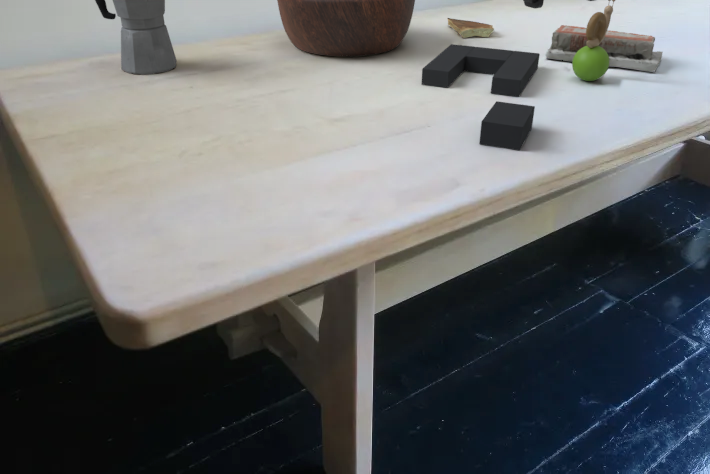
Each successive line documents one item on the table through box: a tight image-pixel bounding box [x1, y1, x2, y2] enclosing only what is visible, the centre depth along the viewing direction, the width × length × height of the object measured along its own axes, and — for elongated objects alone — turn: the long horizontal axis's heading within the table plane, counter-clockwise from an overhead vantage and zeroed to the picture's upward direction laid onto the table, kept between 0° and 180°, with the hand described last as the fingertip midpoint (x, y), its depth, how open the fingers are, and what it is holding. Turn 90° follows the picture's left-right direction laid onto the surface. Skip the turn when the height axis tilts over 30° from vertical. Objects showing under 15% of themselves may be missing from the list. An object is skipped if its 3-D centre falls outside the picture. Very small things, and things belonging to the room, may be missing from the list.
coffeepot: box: [94, 0, 177, 75], centre depth 106 cm, size 15×9×18 cm, turn 77°
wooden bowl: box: [276, 0, 416, 57], centre depth 121 cm, size 25×25×10 cm
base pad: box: [421, 43, 541, 98], centre depth 105 cm, size 15×16×2 cm
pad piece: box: [478, 100, 536, 151], centre depth 83 cm, size 5×8×3 cm, turn 157°
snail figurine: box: [571, 0, 616, 82], centre depth 102 cm, size 5×6×12 cm
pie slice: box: [447, 17, 495, 39], centre depth 132 cm, size 11×8×2 cm
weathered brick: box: [545, 24, 664, 73], centre depth 113 cm, size 18×5×10 cm
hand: (561, 3), depth 74 cm, fingers open, 8 cm apart
